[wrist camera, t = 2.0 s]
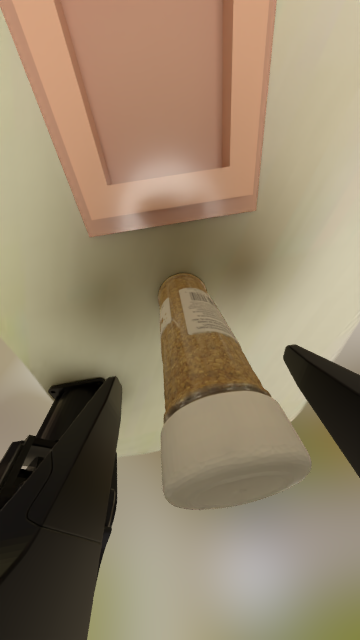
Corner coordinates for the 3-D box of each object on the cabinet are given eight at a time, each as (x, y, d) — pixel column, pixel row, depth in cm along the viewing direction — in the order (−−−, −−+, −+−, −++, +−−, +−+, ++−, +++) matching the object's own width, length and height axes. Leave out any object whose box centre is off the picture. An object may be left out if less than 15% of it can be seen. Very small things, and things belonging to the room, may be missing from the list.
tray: (92, 236, 13) (82, 240, 11) (-50, -140, 6) (-128, -271, 4) (252, 210, 13) (266, 210, 11) (285, -179, 6) (332, -317, 5)
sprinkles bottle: (147, 295, 16) (126, 511, 5) (185, 260, 14) (282, 445, 3) (180, 324, 18) (220, 518, 7) (216, 295, 17) (337, 480, 5)
